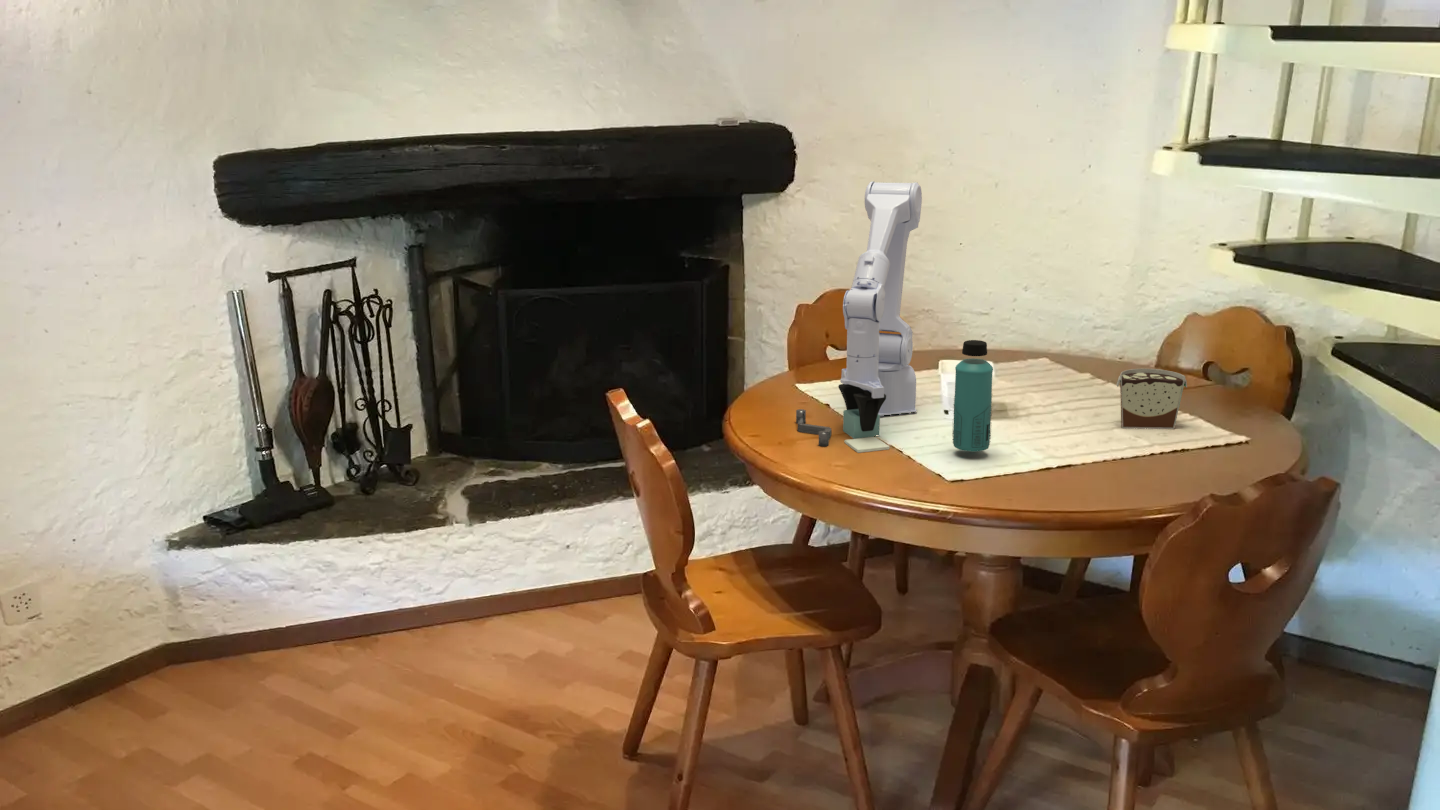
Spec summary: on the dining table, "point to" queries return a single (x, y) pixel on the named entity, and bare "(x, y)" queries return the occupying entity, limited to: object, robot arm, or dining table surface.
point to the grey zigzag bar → (813, 428)
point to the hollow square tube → (857, 425)
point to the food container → (1150, 398)
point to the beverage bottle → (972, 399)
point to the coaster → (866, 444)
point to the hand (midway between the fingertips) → (861, 426)
